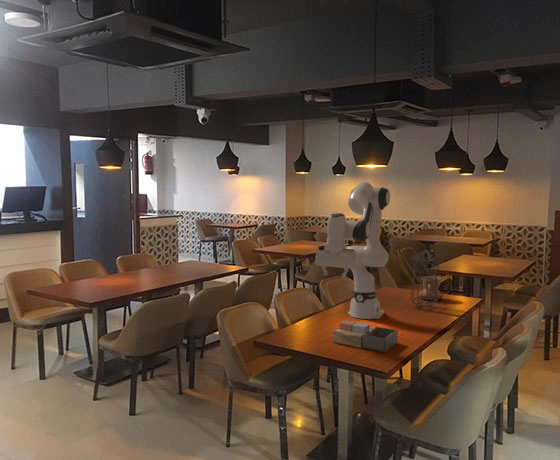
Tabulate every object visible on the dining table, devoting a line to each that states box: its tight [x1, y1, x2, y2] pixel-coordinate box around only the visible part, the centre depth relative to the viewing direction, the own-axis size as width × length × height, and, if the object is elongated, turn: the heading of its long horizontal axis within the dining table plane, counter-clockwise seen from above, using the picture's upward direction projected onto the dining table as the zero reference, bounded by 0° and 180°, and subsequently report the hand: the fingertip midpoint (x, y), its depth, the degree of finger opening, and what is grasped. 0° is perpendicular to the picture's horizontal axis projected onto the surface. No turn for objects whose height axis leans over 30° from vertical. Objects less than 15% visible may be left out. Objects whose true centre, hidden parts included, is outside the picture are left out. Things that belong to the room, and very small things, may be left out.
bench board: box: [332, 327, 375, 349], centre depth 227 cm, size 16×14×5 cm
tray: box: [361, 326, 399, 353], centre depth 220 cm, size 16×11×6 cm
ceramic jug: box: [418, 275, 443, 302], centre depth 315 cm, size 18×14×14 cm
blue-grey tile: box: [352, 321, 371, 334], centre depth 225 cm, size 6×6×3 cm
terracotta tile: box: [338, 319, 357, 331], centre depth 229 cm, size 6×6×3 cm
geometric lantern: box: [409, 249, 443, 311], centre depth 292 cm, size 16×16×35 cm
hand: (334, 276), depth 234 cm, fingers open, 8 cm apart
